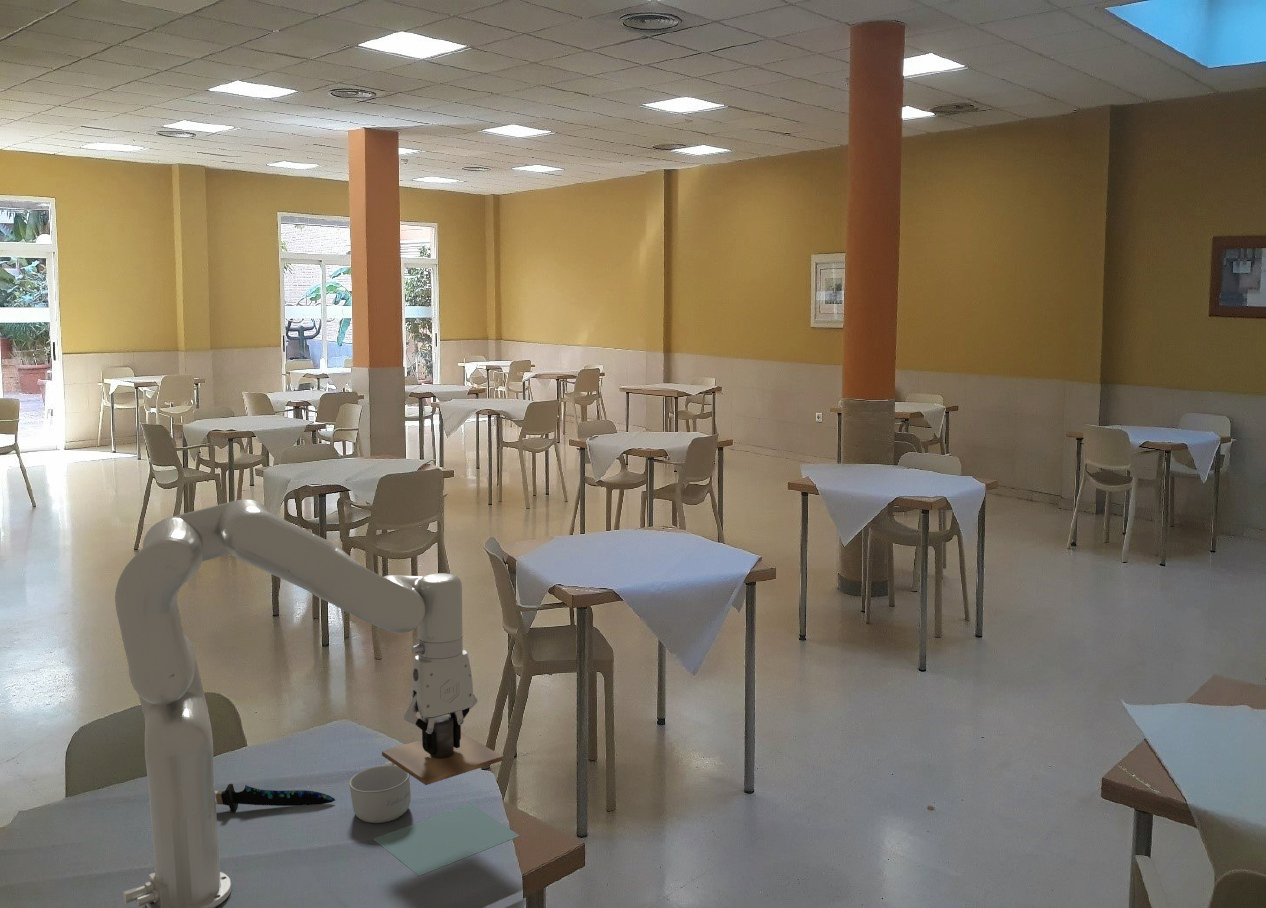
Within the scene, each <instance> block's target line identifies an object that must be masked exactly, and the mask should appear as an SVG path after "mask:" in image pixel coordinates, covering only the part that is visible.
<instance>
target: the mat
mask: <svg viewBox="0 0 1266 908" xmlns="http://www.w3.org/2000/svg"><path fill="white" fill-rule="evenodd" d="M520 836H521V835H520V834H518V833H517V832H515V831H514V830H512V829H510V828H509V827H507V826H506V825H505V824H503V823H501V822H500V821H499V820H497V819H495V818H493V817H492V816H490V815H489V814H488V813H486V812H484V811H483V810H482V809H480V808H479V807H477V806H476V805H474V804H472V803H469V804H466V805H463V806H460V807H457V808H455V809H452V810H449V811H447V812H443V813H440V814H437V815H436V816H435V815H434V816H432V817H429V818H427V819H424V820H422V821H419V822H416V823H413V824H411V825H407V826H405V827H403V828H399V829H397V830H393V831H390V832H388V833H385V834H383V835H379V836H376V837H375V838H372V840H374V841H375V842H376V843H377V844H378V845H380V846H381V847H382V848H384V849H385V850H386V851H388V853H390V854H391V855H392V856H393V857H395V858H396V859H397V860H398V861H400V862H401V863H402V864H403V865H404V866H405V867H407V868H408V869H409V870H410V871H412V873H415V874H416V875H417V876H418V877H420V876H423V875H425V874H429V873H430V872H433V871H435V870H438V869H440V868H443V867H446V866H448V865H450V864H453V863H456V862H458V861H461V860H463V859H465V858H468V857H471V856H473V855H477V854H479V853H481V852H483V851H486V850H488V849H491V848H493V847H496V846H498V845H502V844H503V843H505V842H508V841H511V840H514V839H516V838H518V837H520Z"/></svg>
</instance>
